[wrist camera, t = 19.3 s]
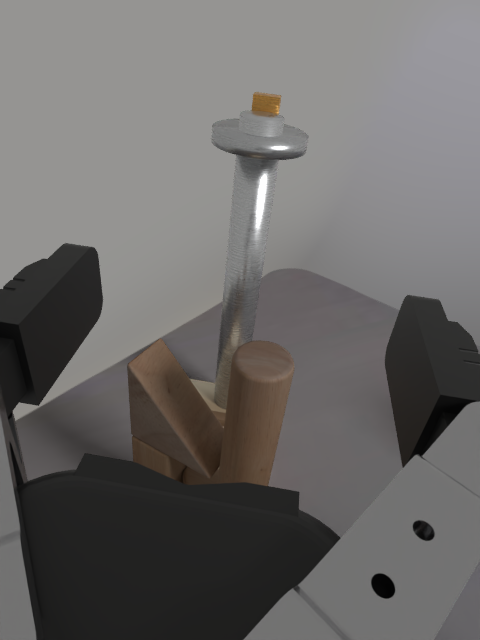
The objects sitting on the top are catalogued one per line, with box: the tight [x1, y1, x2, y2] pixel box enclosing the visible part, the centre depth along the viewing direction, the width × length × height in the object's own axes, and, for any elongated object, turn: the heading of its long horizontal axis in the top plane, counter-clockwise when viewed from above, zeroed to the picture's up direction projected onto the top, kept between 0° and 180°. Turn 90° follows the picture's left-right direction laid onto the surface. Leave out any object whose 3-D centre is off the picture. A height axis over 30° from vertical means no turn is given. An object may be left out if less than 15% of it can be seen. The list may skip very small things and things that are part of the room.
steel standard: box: [212, 92, 308, 409], centre depth 41 cm, size 7×7×31 cm
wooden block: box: [127, 339, 294, 486], centre depth 32 cm, size 4×11×18 cm, turn 60°
